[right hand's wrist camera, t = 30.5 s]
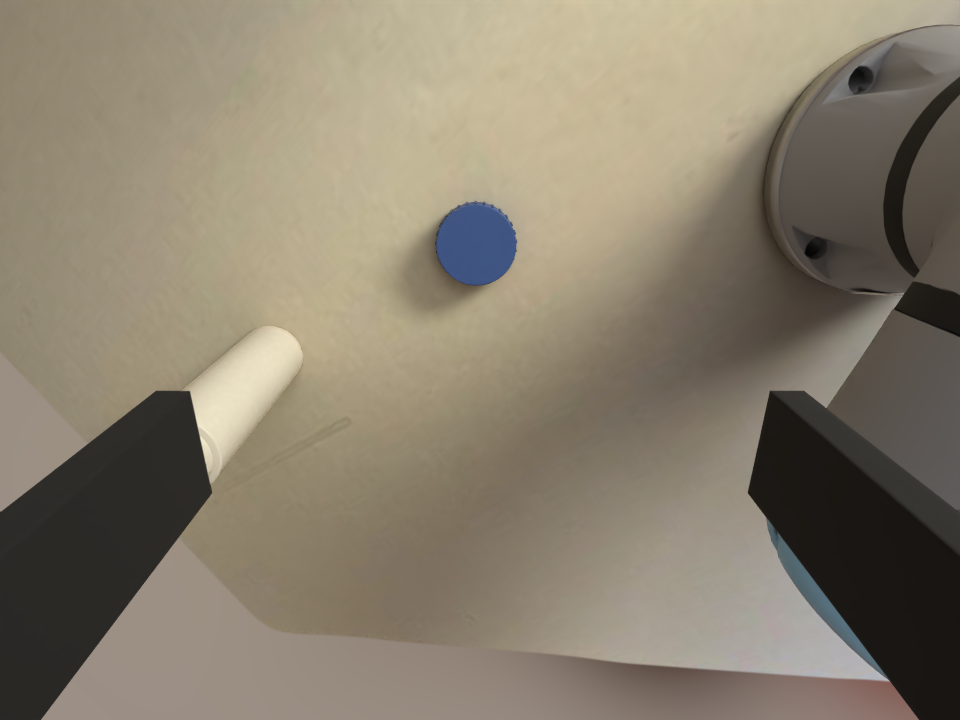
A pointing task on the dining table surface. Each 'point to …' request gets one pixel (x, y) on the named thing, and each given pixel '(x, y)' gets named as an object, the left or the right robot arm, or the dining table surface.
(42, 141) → the dining table surface
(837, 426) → the right robot arm
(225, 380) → the white cylindrical bottle
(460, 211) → the lid
